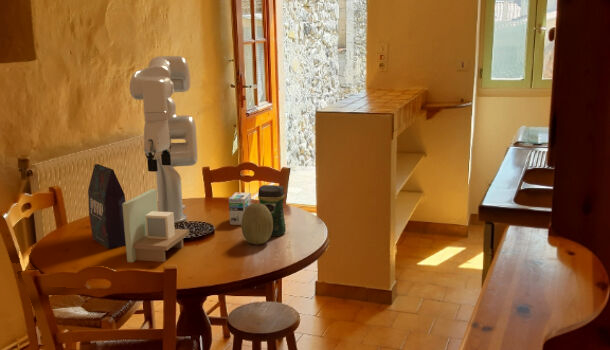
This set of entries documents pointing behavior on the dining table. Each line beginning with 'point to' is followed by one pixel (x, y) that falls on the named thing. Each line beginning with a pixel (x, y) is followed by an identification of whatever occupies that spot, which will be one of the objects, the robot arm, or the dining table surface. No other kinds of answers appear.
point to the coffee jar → (274, 206)
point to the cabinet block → (160, 225)
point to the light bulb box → (238, 206)
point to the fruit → (257, 223)
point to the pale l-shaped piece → (136, 230)
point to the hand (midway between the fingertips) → (159, 168)
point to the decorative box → (106, 207)
